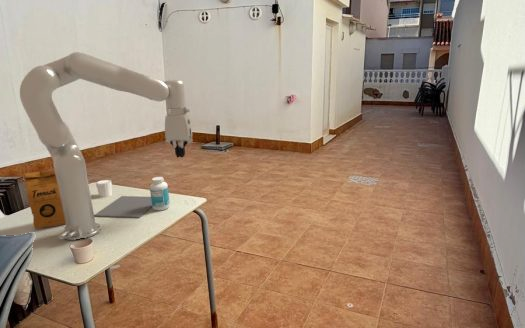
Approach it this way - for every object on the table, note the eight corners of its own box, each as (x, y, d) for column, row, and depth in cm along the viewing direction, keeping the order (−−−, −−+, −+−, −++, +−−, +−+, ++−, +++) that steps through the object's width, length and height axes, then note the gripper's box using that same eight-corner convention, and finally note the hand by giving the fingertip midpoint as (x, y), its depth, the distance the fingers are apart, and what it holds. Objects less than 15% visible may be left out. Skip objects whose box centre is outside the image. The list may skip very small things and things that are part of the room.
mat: (139, 218, 139) (139, 216, 139) (94, 216, 141) (93, 215, 141) (161, 198, 160) (161, 197, 160) (121, 197, 162) (121, 196, 162)
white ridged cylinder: (102, 198, 161) (100, 184, 159) (95, 196, 165) (92, 182, 163) (116, 194, 166) (114, 180, 164) (108, 191, 170) (106, 178, 168)
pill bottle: (165, 203, 154) (162, 174, 150) (173, 207, 148) (170, 178, 145) (149, 207, 149) (145, 178, 145) (156, 212, 144) (153, 182, 140)
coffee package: (68, 226, 133) (57, 172, 127) (31, 232, 129) (18, 176, 123) (72, 216, 142) (62, 165, 136) (37, 221, 138) (25, 169, 132)
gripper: (197, 110, 139) (201, 154, 143) (162, 111, 141) (166, 154, 146) (191, 113, 131) (195, 159, 136) (154, 113, 133) (159, 158, 138)
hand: (180, 156), depth 141 cm, fingers closed
